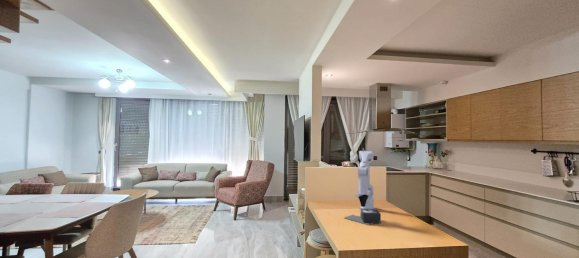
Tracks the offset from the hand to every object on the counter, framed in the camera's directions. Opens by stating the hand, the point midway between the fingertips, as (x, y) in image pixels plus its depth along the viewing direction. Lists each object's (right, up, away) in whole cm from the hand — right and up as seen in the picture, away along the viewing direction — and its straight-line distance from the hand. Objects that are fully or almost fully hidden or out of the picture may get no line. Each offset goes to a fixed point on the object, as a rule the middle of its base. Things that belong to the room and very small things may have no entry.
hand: (363, 206), depth 166 cm
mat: (-3, -8, -3) cm, 9 cm away
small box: (+4, -5, +1) cm, 6 cm away
